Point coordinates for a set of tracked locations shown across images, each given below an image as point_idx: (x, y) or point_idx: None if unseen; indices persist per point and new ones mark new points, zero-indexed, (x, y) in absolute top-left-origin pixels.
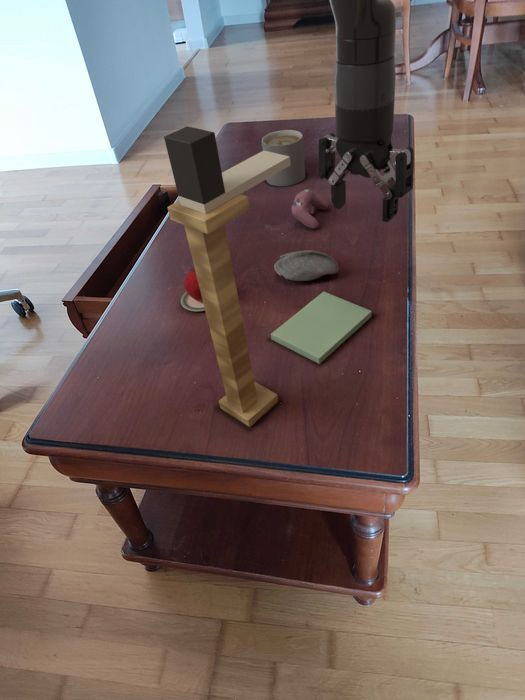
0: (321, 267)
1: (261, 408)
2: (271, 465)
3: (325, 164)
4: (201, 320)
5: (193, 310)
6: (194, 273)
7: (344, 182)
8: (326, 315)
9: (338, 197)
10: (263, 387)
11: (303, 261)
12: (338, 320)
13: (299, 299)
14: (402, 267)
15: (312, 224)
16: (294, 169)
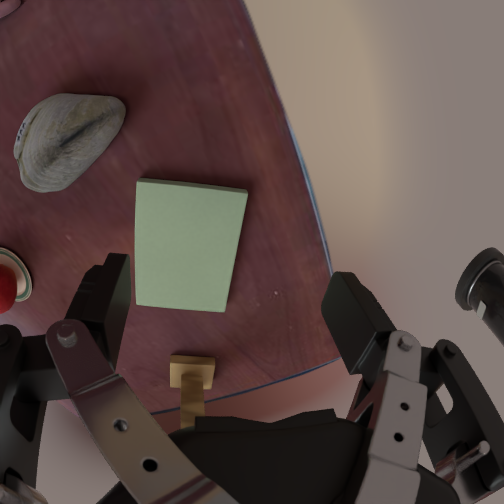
0: (99, 147)
1: (212, 379)
2: (249, 391)
3: (38, 446)
4: (41, 304)
5: (22, 300)
6: None
7: (105, 327)
8: (181, 238)
9: (123, 325)
10: (196, 365)
11: (63, 167)
12: (207, 239)
13: (107, 204)
14: (240, 23)
15: (9, 10)
16: None
